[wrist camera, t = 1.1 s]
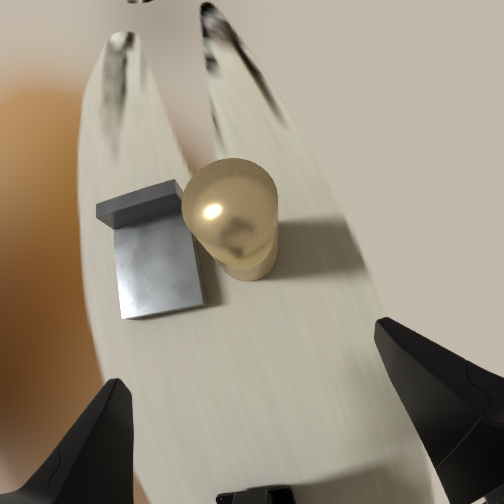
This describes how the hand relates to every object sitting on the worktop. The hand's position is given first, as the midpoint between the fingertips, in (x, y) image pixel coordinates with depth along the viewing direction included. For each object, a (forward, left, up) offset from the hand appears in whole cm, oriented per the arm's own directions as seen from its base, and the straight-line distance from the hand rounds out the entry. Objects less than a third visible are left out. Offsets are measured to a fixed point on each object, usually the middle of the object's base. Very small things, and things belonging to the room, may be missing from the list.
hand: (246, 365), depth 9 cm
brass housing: (+7, 0, -13) cm, 15 cm away
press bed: (+8, +7, -13) cm, 17 cm away
